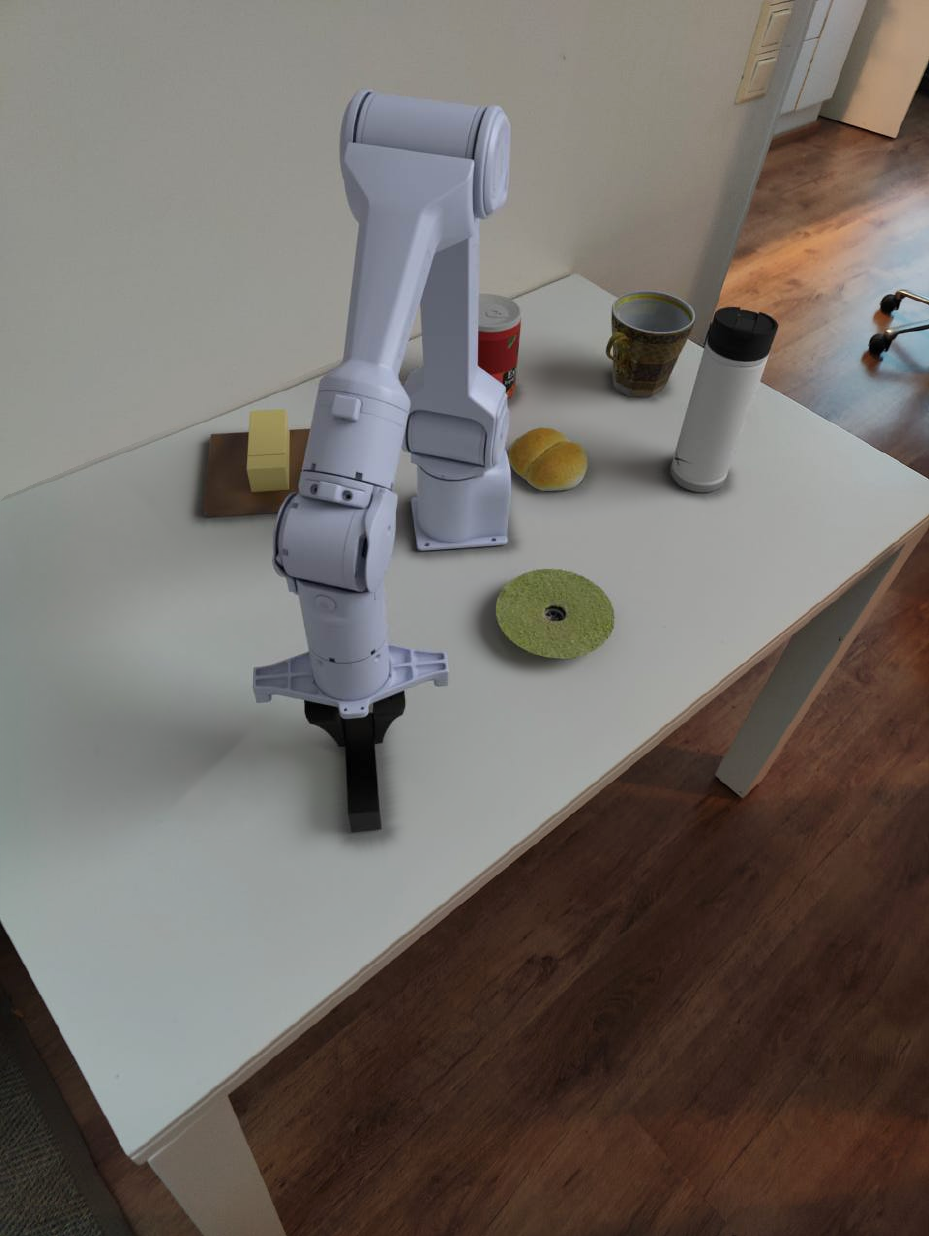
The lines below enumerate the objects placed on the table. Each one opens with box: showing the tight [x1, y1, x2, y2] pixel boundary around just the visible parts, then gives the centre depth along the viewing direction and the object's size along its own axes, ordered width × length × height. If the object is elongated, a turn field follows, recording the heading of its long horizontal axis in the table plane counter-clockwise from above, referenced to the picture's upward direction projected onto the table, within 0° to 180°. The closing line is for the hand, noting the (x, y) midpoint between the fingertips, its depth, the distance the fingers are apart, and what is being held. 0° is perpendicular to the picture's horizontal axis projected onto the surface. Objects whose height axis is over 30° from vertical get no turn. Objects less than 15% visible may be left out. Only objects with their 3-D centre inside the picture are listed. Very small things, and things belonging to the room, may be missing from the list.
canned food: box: [478, 293, 522, 401], centre depth 100 cm, size 8×8×11 cm
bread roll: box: [508, 427, 589, 492], centre depth 93 cm, size 8×9×4 cm
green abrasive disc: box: [495, 568, 616, 659], centre depth 78 cm, size 11×11×2 cm
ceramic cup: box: [605, 290, 696, 398], centre depth 102 cm, size 13×10×10 cm
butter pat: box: [247, 454, 289, 492], centre depth 88 cm, size 4×2×3 cm, turn 98°
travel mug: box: [669, 306, 779, 493], centre depth 87 cm, size 6×7×20 cm
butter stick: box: [247, 408, 290, 473], centre depth 91 cm, size 4×8×3 cm, turn 8°
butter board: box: [202, 428, 310, 518], centre depth 92 cm, size 14×13×1 cm
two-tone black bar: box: [344, 703, 383, 834], centre depth 69 cm, size 19×2×3 cm, turn 8°
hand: (359, 735), depth 68 cm, fingers closed on two-tone black bar, 2 cm apart
